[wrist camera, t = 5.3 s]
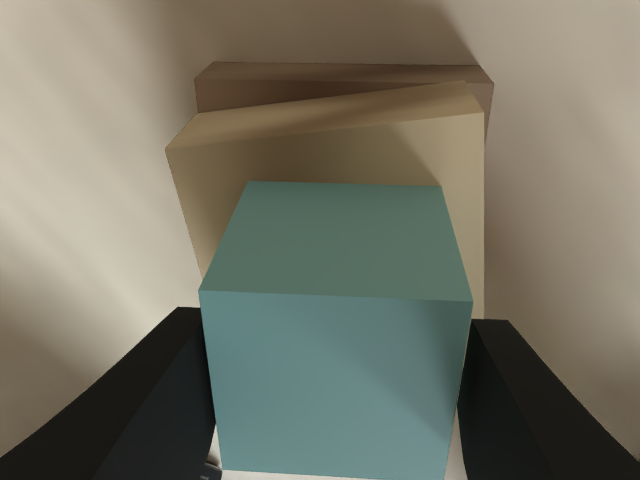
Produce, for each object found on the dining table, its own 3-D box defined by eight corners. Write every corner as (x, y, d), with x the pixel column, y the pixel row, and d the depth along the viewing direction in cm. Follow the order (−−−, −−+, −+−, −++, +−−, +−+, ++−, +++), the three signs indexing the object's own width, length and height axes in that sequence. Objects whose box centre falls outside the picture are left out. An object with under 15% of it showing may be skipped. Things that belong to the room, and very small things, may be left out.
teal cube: (440, 185, 11) (473, 301, 8) (423, 337, 13) (443, 483, 10) (247, 180, 12) (198, 290, 8) (258, 330, 14) (222, 469, 10)
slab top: (464, 79, 13) (484, 112, 11) (467, 305, 16) (484, 366, 14) (196, 113, 14) (164, 149, 11) (249, 321, 17) (232, 380, 15)
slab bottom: (475, 60, 15) (493, 83, 13) (447, 279, 18) (457, 326, 16) (218, 57, 15) (194, 78, 13) (237, 270, 19) (220, 315, 17)
